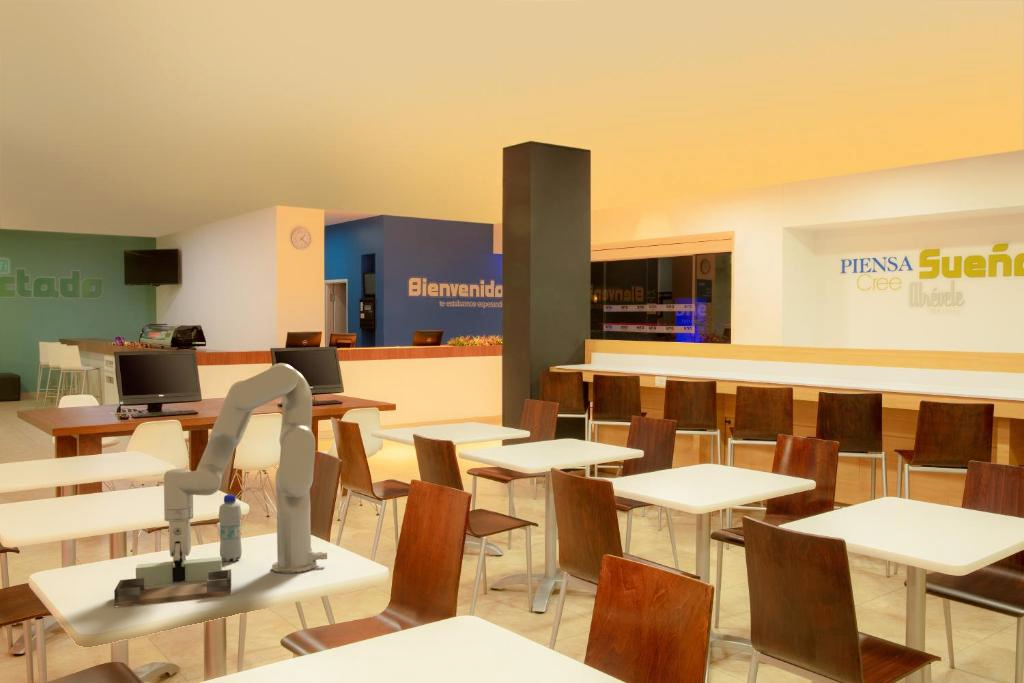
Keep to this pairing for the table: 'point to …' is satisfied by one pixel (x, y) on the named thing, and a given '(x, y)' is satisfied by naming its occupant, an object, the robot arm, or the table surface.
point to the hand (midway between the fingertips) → (179, 578)
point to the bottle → (230, 529)
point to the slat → (164, 573)
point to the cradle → (172, 590)
